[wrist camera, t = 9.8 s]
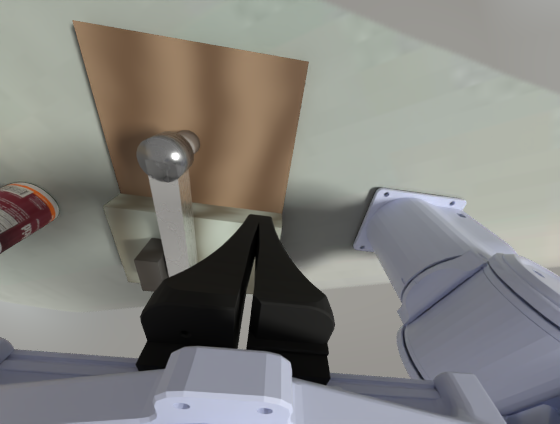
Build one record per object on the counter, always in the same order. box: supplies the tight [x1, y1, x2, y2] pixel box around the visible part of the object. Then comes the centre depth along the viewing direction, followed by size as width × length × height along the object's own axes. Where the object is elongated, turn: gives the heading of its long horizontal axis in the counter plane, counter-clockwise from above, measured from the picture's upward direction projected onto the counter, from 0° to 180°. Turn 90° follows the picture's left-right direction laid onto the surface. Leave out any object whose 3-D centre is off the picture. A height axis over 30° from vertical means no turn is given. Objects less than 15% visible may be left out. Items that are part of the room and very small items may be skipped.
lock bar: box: [137, 131, 198, 277], centre depth 18 cm, size 14×3×2 cm, turn 172°
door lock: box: [72, 20, 309, 294], centre depth 19 cm, size 16×23×6 cm
